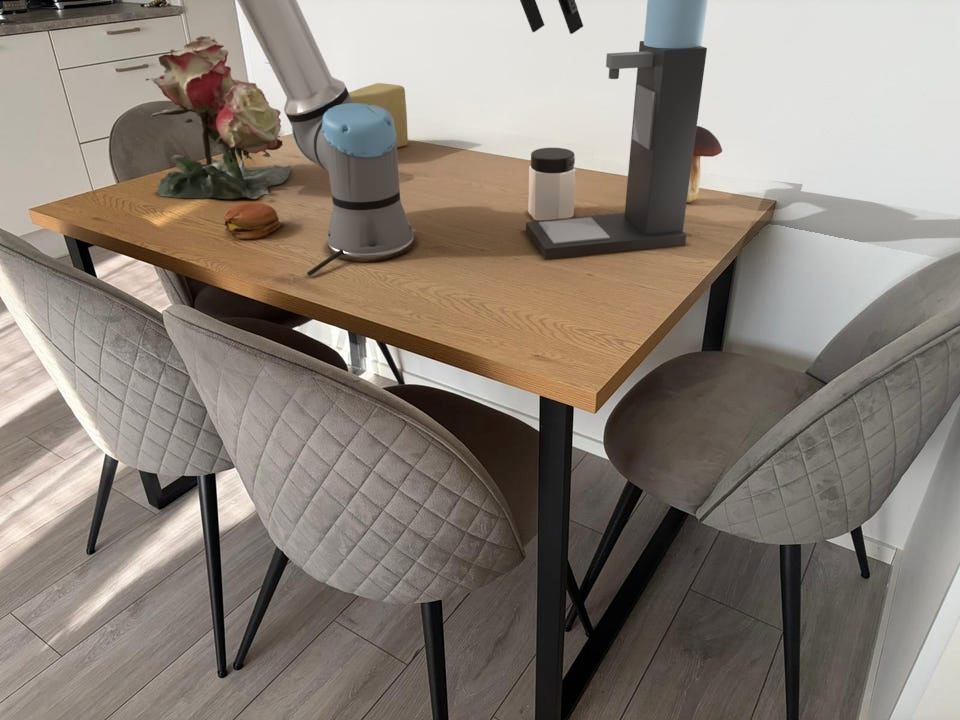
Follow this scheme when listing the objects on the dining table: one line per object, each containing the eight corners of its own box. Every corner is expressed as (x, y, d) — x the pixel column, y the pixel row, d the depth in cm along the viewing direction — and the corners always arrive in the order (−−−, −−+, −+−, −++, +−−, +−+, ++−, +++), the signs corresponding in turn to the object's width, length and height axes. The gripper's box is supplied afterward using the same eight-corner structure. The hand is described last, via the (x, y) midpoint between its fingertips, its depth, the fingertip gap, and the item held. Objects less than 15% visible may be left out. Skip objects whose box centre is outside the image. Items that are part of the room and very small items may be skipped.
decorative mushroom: (718, 197, 149) (729, 121, 141) (708, 214, 141) (720, 135, 133) (664, 190, 153) (673, 117, 145) (652, 207, 145) (660, 130, 137)
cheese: (351, 167, 172) (343, 101, 164) (321, 161, 176) (312, 97, 169) (410, 145, 187) (406, 84, 179) (381, 140, 192) (376, 80, 184)
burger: (284, 221, 142) (280, 198, 140) (273, 239, 134) (268, 215, 132) (234, 222, 142) (229, 199, 140) (219, 240, 134) (214, 216, 132)
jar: (578, 220, 139) (581, 158, 133) (537, 224, 138) (538, 161, 132) (563, 205, 147) (566, 145, 141) (524, 209, 145) (525, 148, 139)
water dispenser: (544, 259, 124) (553, -43, 101) (525, 232, 135) (529, -47, 111) (690, 244, 128) (731, -49, 105) (660, 219, 139) (691, -52, 116)
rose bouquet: (275, 202, 152) (248, 47, 136) (145, 197, 156) (105, 46, 140) (317, 166, 173) (299, 28, 157) (202, 163, 177) (173, 28, 162)
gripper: (570, -106, 120) (610, 19, 133) (497, -89, 140) (538, 18, 152) (534, -83, 119) (578, 41, 131) (466, -70, 139) (510, 37, 151)
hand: (557, 29), depth 142 cm, fingers open, 13 cm apart
